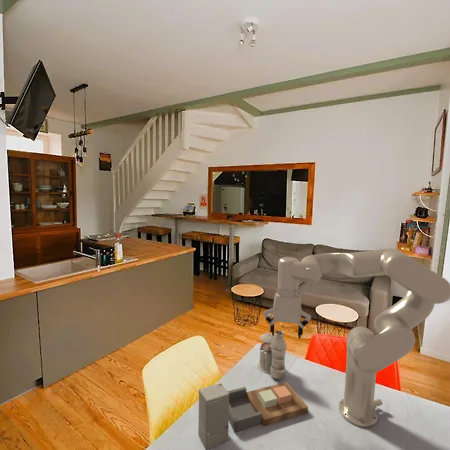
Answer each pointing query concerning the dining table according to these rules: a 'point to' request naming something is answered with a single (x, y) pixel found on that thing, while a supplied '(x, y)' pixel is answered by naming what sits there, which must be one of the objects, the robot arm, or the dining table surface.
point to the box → (242, 411)
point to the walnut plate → (277, 406)
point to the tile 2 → (282, 394)
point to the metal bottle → (278, 356)
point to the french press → (266, 347)
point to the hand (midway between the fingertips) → (286, 335)
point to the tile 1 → (267, 398)
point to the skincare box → (213, 415)
